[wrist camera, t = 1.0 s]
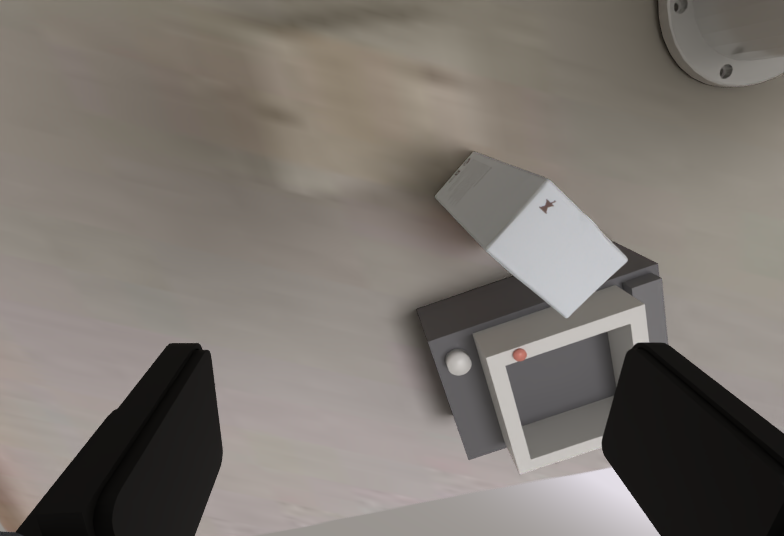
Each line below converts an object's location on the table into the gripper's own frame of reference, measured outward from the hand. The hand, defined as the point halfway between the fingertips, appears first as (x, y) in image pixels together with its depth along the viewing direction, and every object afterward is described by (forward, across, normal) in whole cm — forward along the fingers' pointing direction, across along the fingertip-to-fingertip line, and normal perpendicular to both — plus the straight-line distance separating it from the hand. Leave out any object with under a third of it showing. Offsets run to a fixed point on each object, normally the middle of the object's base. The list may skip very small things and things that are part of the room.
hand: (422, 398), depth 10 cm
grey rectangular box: (+22, -13, +11) cm, 27 cm away
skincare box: (+22, -8, 0) cm, 23 cm away
